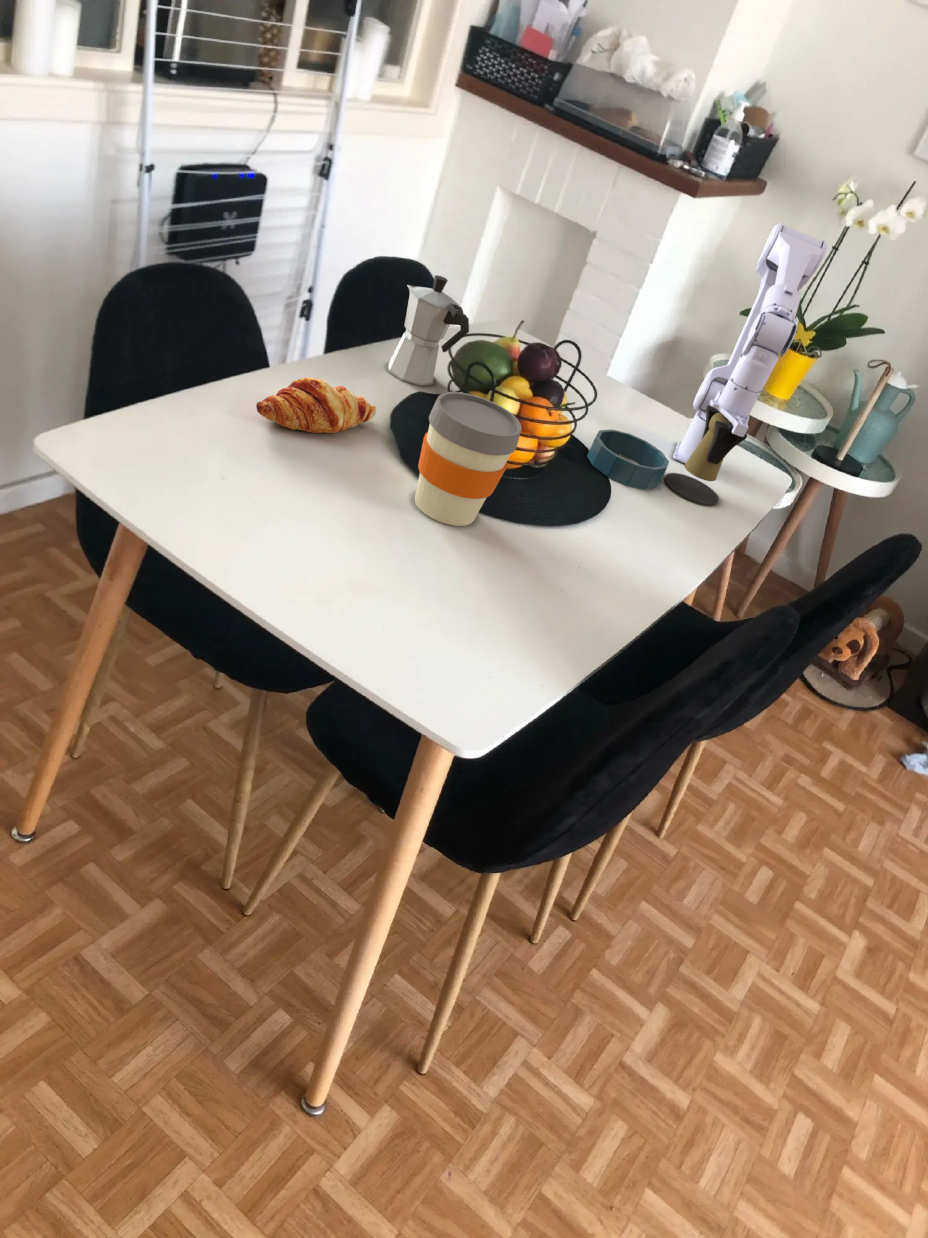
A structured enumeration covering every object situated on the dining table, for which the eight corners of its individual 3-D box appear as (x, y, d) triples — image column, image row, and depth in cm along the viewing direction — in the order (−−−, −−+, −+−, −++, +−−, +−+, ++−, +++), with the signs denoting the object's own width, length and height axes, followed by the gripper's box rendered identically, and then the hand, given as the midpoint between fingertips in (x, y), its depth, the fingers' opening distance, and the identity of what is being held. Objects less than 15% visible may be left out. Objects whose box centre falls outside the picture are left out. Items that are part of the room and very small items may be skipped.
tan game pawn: (716, 485, 175) (746, 429, 169) (684, 472, 175) (713, 415, 169) (715, 472, 180) (744, 417, 174) (684, 459, 180) (712, 404, 174)
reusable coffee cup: (435, 477, 149) (468, 385, 141) (502, 520, 145) (539, 428, 137) (384, 495, 140) (416, 397, 132) (455, 541, 135) (492, 443, 128)
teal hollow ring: (595, 441, 183) (603, 422, 181) (662, 471, 182) (672, 452, 180) (581, 465, 172) (590, 444, 170) (653, 497, 171) (663, 477, 169)
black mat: (667, 468, 184) (668, 466, 184) (719, 492, 184) (720, 490, 183) (660, 488, 176) (661, 486, 175) (715, 512, 175) (716, 510, 175)
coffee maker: (369, 359, 179) (398, 260, 170) (401, 356, 186) (430, 261, 176) (429, 399, 173) (462, 299, 164) (460, 394, 180) (494, 298, 170)
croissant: (355, 430, 161) (354, 379, 160) (396, 432, 154) (396, 379, 153) (240, 432, 147) (238, 376, 145) (280, 434, 140) (278, 375, 138)
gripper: (714, 362, 174) (680, 431, 181) (733, 393, 162) (696, 466, 169) (751, 374, 175) (715, 443, 182) (772, 406, 163) (734, 478, 170)
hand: (708, 455), depth 176 cm, fingers closed on tan game pawn, 5 cm apart
